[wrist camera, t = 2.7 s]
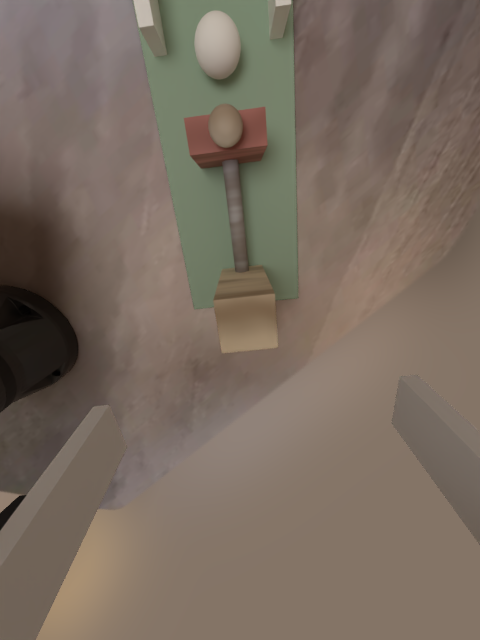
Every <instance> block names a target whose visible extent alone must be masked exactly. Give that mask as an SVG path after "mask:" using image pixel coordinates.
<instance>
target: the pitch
mask: <svg viewBox="0 0 480 640" xmlns="http://www.w3.org/2000/svg"><path fill="white" fill-rule="evenodd" d="M158 4H159V10H160V16H161V22H162V28H163V34H164V39H165V45H166V51H167V55H164V56H157V57H154V55H153V53H152V51H151V49H150V47H149V46H148V44H147V42H146V40H145V38H144V36H143V34H142V33H141V31H140V29H139V26H138V30H139V35H140V40H141V45H142V50H143V55H144V60H145V65H146V70H147V75H148V80H149V85H150V90H151V95H152V100H153V105H154V110H155V115H156V120H157V125H158V130H159V135H160V140H161V145H162V150H163V155H164V160H165V165H166V170H167V175H168V180H169V185H170V190H171V195H172V200H173V205H174V210H175V215H176V220H177V225H178V230H179V235H180V240H181V245H182V250H183V255H184V260H185V265H186V270H187V275H188V280H189V285H190V290H191V295H192V300H193V305H194V309H202V308H211V307H214V303H213V299H214V296H215V292H216V289H217V285H218V282H219V278H220V275H221V271H222V269H228V268H235V265H234V257H233V248H232V240H231V232H230V223H229V215H228V207H227V199H226V190H225V182H224V174H223V166H217V167H210V168H202V169H201V168H200V167H199V166H198V165H197V163H196V162H195V161H194V160H193V159H192V158H191V156H190V153H189V147H188V141H187V135H186V129H185V123H184V118H187V117H194V116H201V115H209V114H211V112H212V111H213V109H214V108H215V107H216V106H218V105H220V104H230V105H232V106H234V107H235V108H236V109H237V110H245V109H252V108H259V107H265V109H266V127H267V144H268V145H267V148H266V150H265V152H264V155H263V157H262V159H261V161H256V162H248V163H240V164H239V173H240V184H241V194H242V204H243V214H244V224H245V235H246V245H247V255H248V265H249V266H254V265H262V266H263V268H264V271H265V273H266V275H267V277H268V279H269V282H270V284H271V286H272V288H273V290H274V293H275V301H276V300H285V299H295V298H298V253H297V198H296V143H295V89H294V34H293V0H291V7H290V11H289V15H288V19H287V23H286V27H285V31H284V34H283V38H278V39H272V40H270V38H269V16H268V0H158ZM133 5H134V1H133ZM134 10H135V6H134ZM215 10H217V11H222V12H224V13H226V14H227V15H228V16H229V17H230V18H231V19H232V20H233V22H234V23H235V25H236V27H237V29H238V32H239V36H240V42H241V52H240V58H239V62H238V64H237V67H236V69H235V70H234V72H233V73H232V74H231V75H230V76H228V77H227V78H225V79H214V78H211V77H210V76H208V75H207V74H206V73H205V72H204V71H203V70H202V68H201V67H200V65H199V63H198V60H197V57H196V53H195V46H194V39H195V32H196V29H197V26H198V23H199V22H200V20H201V19H202V17H203V16H204V15H205V14H207V13H208V12H210V11H215ZM135 15H136V11H135ZM136 20H137V16H136ZM137 25H138V21H137Z"/></svg>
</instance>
